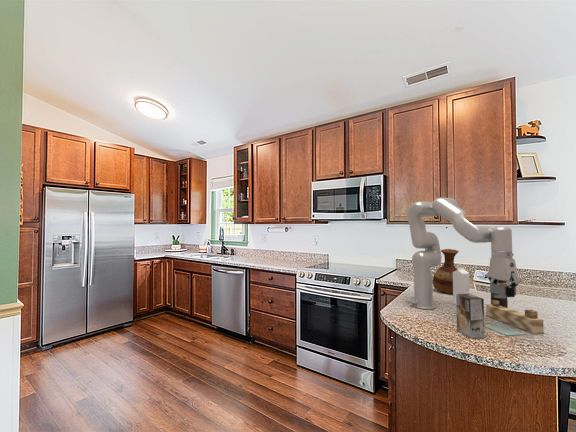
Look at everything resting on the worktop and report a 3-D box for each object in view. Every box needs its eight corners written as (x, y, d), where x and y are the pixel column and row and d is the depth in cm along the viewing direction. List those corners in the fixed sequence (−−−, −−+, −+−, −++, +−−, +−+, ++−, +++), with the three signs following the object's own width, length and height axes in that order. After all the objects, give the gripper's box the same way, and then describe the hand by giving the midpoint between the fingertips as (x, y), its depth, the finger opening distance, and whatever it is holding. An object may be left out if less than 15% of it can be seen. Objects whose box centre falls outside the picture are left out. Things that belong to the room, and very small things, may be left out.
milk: (469, 305, 162) (469, 267, 163) (462, 307, 160) (462, 268, 160) (459, 303, 168) (459, 266, 168) (452, 304, 165) (452, 266, 166)
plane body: (544, 333, 120) (543, 312, 121) (533, 334, 120) (532, 313, 120) (495, 315, 144) (495, 298, 144) (486, 316, 143) (485, 298, 144)
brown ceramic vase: (434, 293, 190) (433, 249, 191) (431, 287, 208) (430, 247, 209) (468, 296, 182) (467, 250, 183) (462, 290, 201) (461, 248, 202)
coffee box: (485, 338, 116) (485, 298, 116) (471, 338, 115) (470, 299, 116) (469, 329, 125) (468, 293, 125) (455, 330, 124) (455, 293, 125)
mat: (506, 335, 118) (506, 334, 118) (483, 325, 130) (483, 324, 130) (525, 334, 119) (525, 333, 119) (500, 324, 131) (500, 323, 131)
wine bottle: (487, 312, 150) (486, 256, 151) (496, 310, 152) (495, 255, 153) (502, 316, 143) (501, 257, 144) (510, 314, 146) (509, 256, 147)
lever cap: (501, 291, 129) (501, 281, 129) (516, 295, 122) (515, 284, 122) (490, 291, 128) (489, 282, 128) (504, 295, 121) (503, 285, 121)
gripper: (528, 256, 117) (529, 299, 117) (492, 252, 135) (493, 290, 134) (512, 257, 116) (513, 300, 116) (478, 253, 134) (479, 290, 133)
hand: (502, 294), depth 125 cm, fingers closed on lever cap, 7 cm apart
